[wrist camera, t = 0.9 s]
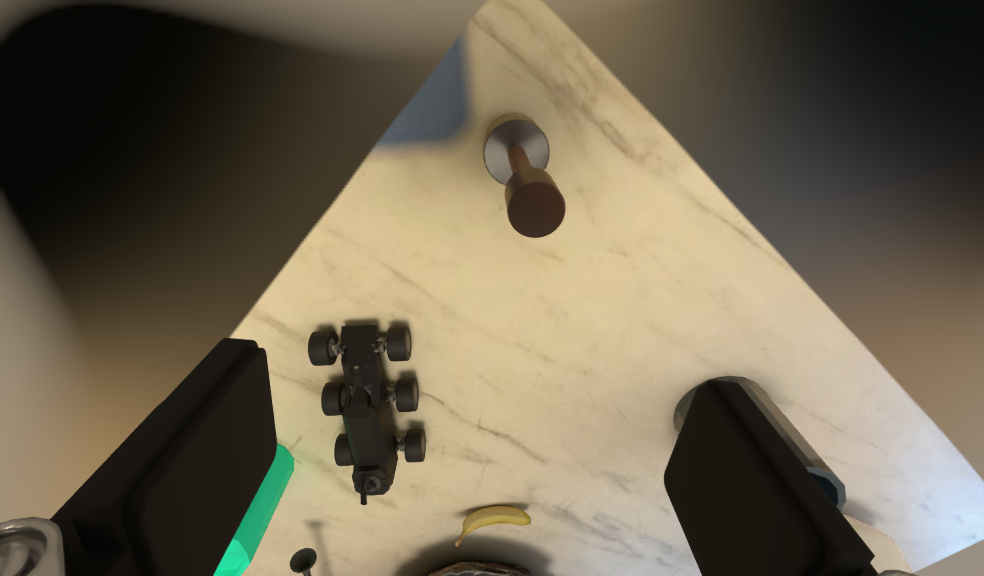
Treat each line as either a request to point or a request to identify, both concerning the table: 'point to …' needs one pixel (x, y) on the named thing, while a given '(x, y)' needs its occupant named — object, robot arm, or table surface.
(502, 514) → the banana
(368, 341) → the toy vehicle
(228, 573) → the candle
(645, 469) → the table surface
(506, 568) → the board
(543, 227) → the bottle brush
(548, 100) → the table surface
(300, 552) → the massage brush
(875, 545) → the cup
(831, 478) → the container
